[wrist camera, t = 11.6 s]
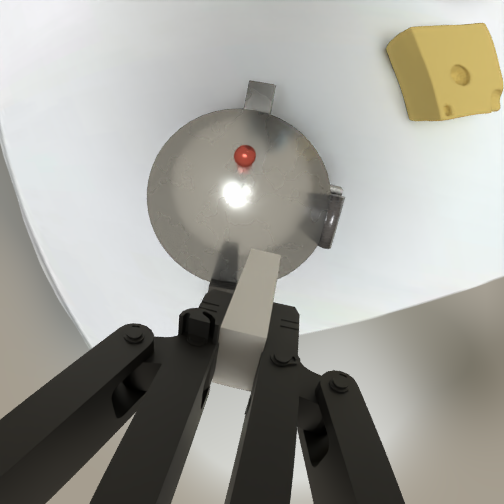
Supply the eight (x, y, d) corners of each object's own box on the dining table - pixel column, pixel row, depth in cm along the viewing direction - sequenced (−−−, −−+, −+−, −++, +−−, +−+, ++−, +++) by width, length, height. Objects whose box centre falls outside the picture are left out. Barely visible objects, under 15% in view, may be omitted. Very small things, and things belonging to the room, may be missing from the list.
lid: (161, 99, 25) (152, 97, 23) (357, 134, 26) (365, 135, 23) (146, 351, 37) (141, 363, 35) (285, 375, 38) (286, 389, 35)
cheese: (472, 112, 29) (515, 113, 20) (404, 124, 32) (438, 124, 23) (449, 38, 26) (487, 21, 17) (379, 45, 29) (404, 21, 20)
